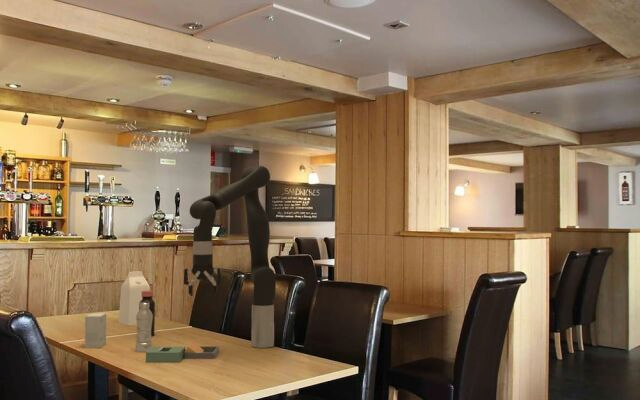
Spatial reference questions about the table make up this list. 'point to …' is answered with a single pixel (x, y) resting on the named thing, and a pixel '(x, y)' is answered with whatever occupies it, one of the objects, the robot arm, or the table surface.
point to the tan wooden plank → (194, 348)
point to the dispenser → (165, 354)
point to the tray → (203, 355)
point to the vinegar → (148, 298)
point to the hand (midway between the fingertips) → (202, 295)
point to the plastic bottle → (144, 328)
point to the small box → (95, 330)
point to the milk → (131, 297)
